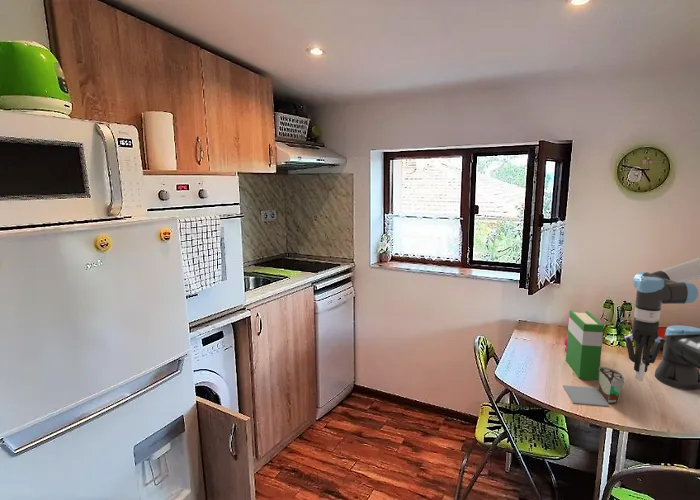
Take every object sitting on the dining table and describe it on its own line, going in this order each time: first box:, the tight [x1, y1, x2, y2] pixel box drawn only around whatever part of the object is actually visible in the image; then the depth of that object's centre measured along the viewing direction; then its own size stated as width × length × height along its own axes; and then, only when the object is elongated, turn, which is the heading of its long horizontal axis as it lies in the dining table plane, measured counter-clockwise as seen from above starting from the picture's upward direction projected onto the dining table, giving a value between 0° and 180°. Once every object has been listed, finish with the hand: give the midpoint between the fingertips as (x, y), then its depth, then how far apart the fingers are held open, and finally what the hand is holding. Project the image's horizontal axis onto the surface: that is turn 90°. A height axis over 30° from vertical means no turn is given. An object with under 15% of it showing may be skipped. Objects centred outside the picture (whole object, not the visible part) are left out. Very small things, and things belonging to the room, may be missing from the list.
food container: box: [597, 366, 625, 405], centre depth 155 cm, size 12×6×10 cm, turn 168°
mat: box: [562, 384, 610, 407], centre depth 158 cm, size 12×13×1 cm
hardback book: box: [565, 310, 605, 381], centre depth 177 cm, size 18×7×24 cm, turn 169°
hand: (639, 379), depth 153 cm, fingers closed
